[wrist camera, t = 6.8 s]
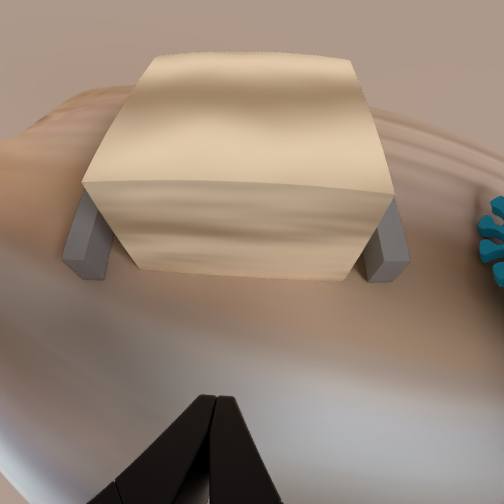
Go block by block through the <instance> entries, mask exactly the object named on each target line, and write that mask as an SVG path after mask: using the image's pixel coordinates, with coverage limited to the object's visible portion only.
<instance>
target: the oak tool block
mask: <svg viewBox="0 0 504 504" xmlns="http://www.w3.org/2000/svg"><path fill="white" fill-rule="evenodd" d="M82 184H83V186H84V187H85V189H86V191H87V192H88V194H89V195H90V197H91V199H92V200H93V202H94V203H95V205H96V206H97V208H98V209H99V211H100V213H101V214H102V216H103V217H104V219H105V220H106V222H107V223H108V225H109V226H110V228H111V229H112V231H113V232H114V234H115V235H116V236H117V238H118V239H119V241H120V242H121V244H122V245H123V247H124V248H125V249H126V251H127V252H128V254H129V255H130V256H131V258H132V259H133V261H134V262H135V263H136V265H137V266H138V267H139V269H144V270H156V271H169V272H182V273H196V274H211V275H226V276H241V277H258V278H275V279H294V280H314V281H336V282H343V281H344V280H345V278H346V277H347V275H348V274H349V272H350V270H351V269H352V267H353V266H354V264H355V262H356V261H357V259H358V258H359V256H360V254H361V253H362V251H363V249H364V248H365V246H366V244H367V243H368V241H369V239H370V238H371V236H372V234H373V233H374V231H375V229H376V228H377V226H378V224H379V222H380V221H381V219H382V217H383V215H384V214H385V212H386V210H387V208H388V207H389V205H390V203H391V201H392V199H393V198H394V196H395V192H394V188H393V184H392V180H391V176H390V173H389V169H388V166H387V162H386V159H385V155H384V152H383V149H382V146H381V142H380V139H379V136H378V133H377V130H376V127H375V124H374V121H373V119H372V116H371V113H370V110H369V107H368V105H367V102H366V99H365V97H364V94H363V92H362V89H361V87H360V84H359V82H358V79H357V77H356V74H355V72H354V69H353V67H352V65H351V63H350V60H344V59H337V58H330V57H322V56H314V55H305V54H294V53H279V52H256V51H255V52H254V51H223V52H197V53H183V54H172V55H162V56H156V57H155V59H154V60H153V61H152V63H151V64H150V66H149V67H148V68H147V70H146V71H145V73H144V74H143V75H142V77H141V79H140V80H139V81H138V83H137V84H136V86H135V87H134V89H133V90H132V92H131V93H130V95H129V97H128V98H127V100H126V101H125V103H124V104H123V106H122V108H121V109H120V111H119V113H118V114H117V116H116V118H115V119H114V121H113V123H112V124H111V126H110V128H109V130H108V131H107V133H106V135H105V137H104V139H103V140H102V142H101V144H100V146H99V148H98V150H97V152H96V154H95V155H94V157H93V159H92V161H91V163H90V165H89V167H88V169H87V171H86V173H85V176H84V178H83V180H82Z"/></svg>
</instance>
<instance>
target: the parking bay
mask: <svg viewBox="0 0 504 504" xmlns="http://www.w3.org/2000/svg"><path fill="white" fill-rule="evenodd" d="M113 237H114V232H113V231H112V229H111V228H110V226H109V225H108V223H107V222H106V220H105V219H104V217H103V216H102V214H101V213H100V211H99V209H98V208H97V206H96V205H95V203H94V202H93V200H92V199H91V197H90V195H89V194H88V192H87V191H86V189H84V192H83V194H82V197H81V200H80V202H79V205H78V208H77V211H76V214H75V216H74V219H73V222H72V225H71V228H70V231H69V235H68V238H67V241H66V244H65V248H64V251H63V255H62V258H61V260H62V261H64V262H65V263H66V264H67V265H68V266H69V267H70V268H71V269H72V270H73V271H74V272H75V273H76V274H77V275H78V276H80V277H81V278H82V279H93V280H104V276H105V271H106V266H107V262H108V257H109V253H110V249H111V245H112V241H113ZM363 256H364V262H365V268H366V275H367V281H368V282H392V281H393V280H394V279H395V278H396V277H397V276H398V275H399V274H400V273H401V272H402V271H403V269H404V268H405V267H406V266H407V265H408V264H409V263H410V262H411V259H410V255H409V251H408V246H407V242H406V238H405V235H404V231H403V227H402V223H401V220H400V216H399V213H398V209H397V206H396V202H395V199H394V198H393V199H392V201H391V203H390V205H389V207H388V208H387V210H386V212H385V214H384V215H383V217H382V219H381V221H380V222H379V224H378V226H377V228H376V229H375V231H374V233H373V234H372V236H371V238H370V239H369V241H368V243H367V244H366V246H365V248H364V249H363Z"/></svg>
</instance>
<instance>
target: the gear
mask: <svg viewBox="0 0 504 504" xmlns="http://www.w3.org/2000/svg"><path fill="white" fill-rule="evenodd" d="M491 207H492V212H493V213H494V214H495V215H497V216H499V217H501V218H502V219H503V220H504V197H503V196H499V197H497V198H495V199H493V200H492V201H491ZM478 228H479V232H480V234H481V235H482V236H484V237H495V238H498V239H500V240H501V241H503V242H504V225H503V226H497V225H495V223H494V221H493V219H492V217H490V216H487V215H486V216H484V217H483V218H482V219H481V221H480V222H479V224H478ZM479 249H480V257H481V262H485V263H487V262H490V261H492V260H494V259H497V258H504V243H503V244H502V245H496V244H495V243H493V242H492V241H490V240H487V239H485V240H482V241H481V242H480V248H479ZM493 274H494V279H495V281H496V283H497V284H498V285H499V287H504V262H498V263H496V264H495V265H494V266H493Z"/></svg>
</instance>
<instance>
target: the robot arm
mask: <svg viewBox="0 0 504 504" xmlns="http://www.w3.org/2000/svg"><path fill="white" fill-rule="evenodd" d="M208 498H210V504H284V503H283V502H281V498H280V496H279V494H278V492H277V490H276V488H275V486H274V484H273V482H272V480H271V478H270V475H269V473H268V471H267V469H266V467H265V465H264V463H263V461H262V459H261V456H260V454H259V452H258V450H257V448H256V445H255V443H254V441H253V439H252V437H251V434H250V432H249V430H248V428H247V425H246V423H245V421H244V418H243V416H242V414H241V411H240V409H239V407H238V404H237V402H236V399H235V398H234V397H233V396H218V397H216V396H215V395H205V394H201V395H199V396H198V397H197V398H196V399H195V400H194V401H193V402H192V403H191V404H190V405H189V407H188V408H187V409H186V410H185V411H184V412H183V413H182V414H181V415H180V416H179V417H178V418H177V419H176V420H175V421H174V422H173V423H172V424H171V425H170V426H169V427H168V428H167V429H166V430H165V431H164V432H163V433H162V434H161V435H160V436H159V437H158V438H157V439H156V440H155V441H154V442H153V443H152V444H151V445H150V446H149V447H148V448H147V449H146V450H145V451H144V452H143V453H142V454H141V455H140V456H139V457H138V458H137V459H136V460H135V461H134V462H133V463H132V464H131V465H129V466H128V467H127V468H126V469H125V470H124V471H123V472H122V473H121V474H120V475H119V476H118V477H117V478H116V479H115V482H114V481H112V482H111V483H110V484H109V485H108V486H107V487H106V488H105V489H103V490H102V491H101V492H100V493H99V494H98V495H96V496H95V497H94V498H93V499H92V500H90V501H89V502H88V503H87V504H207V502H208Z"/></svg>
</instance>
